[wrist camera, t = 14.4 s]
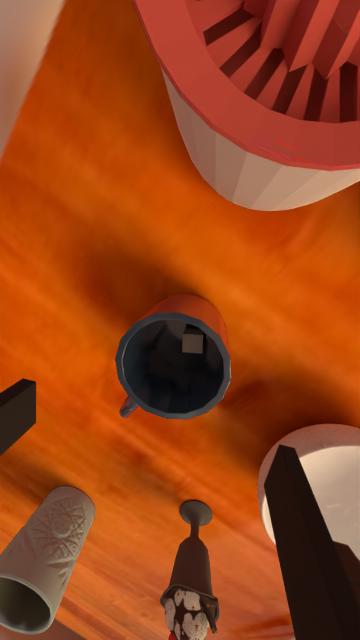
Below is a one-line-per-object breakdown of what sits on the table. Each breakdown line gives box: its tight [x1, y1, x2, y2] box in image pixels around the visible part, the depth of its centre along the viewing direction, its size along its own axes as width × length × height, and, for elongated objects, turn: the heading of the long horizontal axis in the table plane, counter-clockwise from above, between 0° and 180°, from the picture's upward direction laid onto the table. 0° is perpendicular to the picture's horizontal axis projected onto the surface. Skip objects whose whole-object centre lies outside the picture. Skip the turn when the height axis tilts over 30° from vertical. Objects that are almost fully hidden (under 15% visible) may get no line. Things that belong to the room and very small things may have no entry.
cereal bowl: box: [257, 424, 360, 561], centre depth 27 cm, size 17×17×7 cm
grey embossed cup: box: [0, 486, 95, 634], centre depth 33 cm, size 10×10×12 cm
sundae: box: [160, 501, 219, 640], centre depth 29 cm, size 7×7×15 cm
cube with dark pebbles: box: [182, 328, 206, 354], centre depth 27 cm, size 2×2×2 cm
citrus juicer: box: [133, 0, 360, 211], centre depth 13 cm, size 16×17×20 cm
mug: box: [115, 294, 231, 419], centre depth 24 cm, size 13×10×10 cm
